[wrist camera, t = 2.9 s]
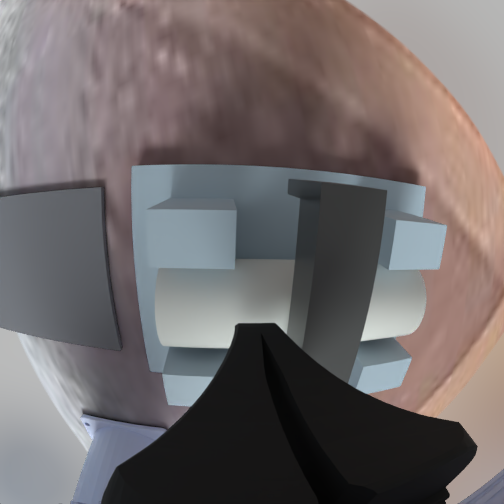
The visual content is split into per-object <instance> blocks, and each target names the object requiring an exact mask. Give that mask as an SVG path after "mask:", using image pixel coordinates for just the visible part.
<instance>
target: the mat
mask: <svg viewBox="0 0 504 504" xmlns="http://www.w3.org/2000/svg"><path fill="white" fill-rule="evenodd" d="M0 328H4V329H7V330H11V331H15V332H19V333H23V334H27V335H31V336H36V337H40V338H45V339H50V340H55V341H60V342H65V343H71V344H77V345H83V346H89V347H96V348H103V349H110V350H118V351H121V349H122V344H121V339H120V334H119V330H118V324H117V319H116V313H115V308H114V301H113V295H112V288H111V281H110V273H109V264H108V254H107V243H106V229H105V208H104V187H92V188H78V189H65V190H54V191H44V192H35V193H27V194H19V195H11V196H4V197H0Z"/></svg>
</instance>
